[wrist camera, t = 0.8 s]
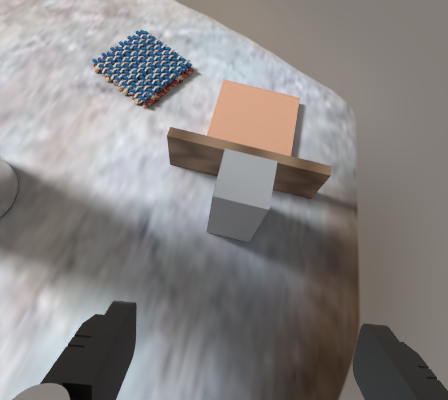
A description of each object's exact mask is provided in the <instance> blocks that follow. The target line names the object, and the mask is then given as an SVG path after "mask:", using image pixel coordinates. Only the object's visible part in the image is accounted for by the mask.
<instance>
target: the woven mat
mask: <svg viewBox="0 0 448 400" xmlns="http://www.w3.org/2000/svg"><path fill="white" fill-rule="evenodd" d="M136 34H138V35H139V36H140V37H139V36H135V35H133V36H132V37H130V36H128V37H127V38H128V39H129V41H128V42H127V41H124V43H123V42H121V41H120V42H119V44H120V45H121V46H122V47H118V46H116V50H115V49H114V48H113V47H111V48H110V49H111V50H112V51H113V52H112V53H110V52H107V55H106V54H105V53H102V56H104V57H103V59H101V58H98V62H99V63H98V62H97V60H96V59H93V60H92V61H93V62H94V63H95V64H94V67H95V68H94V72H96V73H98V72H99V71H100V72H102V73H104V74H103V75H102V76H103V77H106V79H105V80H106V81H108V82H111V81H112V80H113V82H114V85H115V86H117V85H118V86H120V87H119V88H118V89H117V90H118V91H119V92H121V91H122V90H123V89H124V90H123V94H124V95H128V94H129V95H132V96H131V97H130V98H131V99H134V98H136V99H135V100H134V103H135V104H140V103H143V104H144V105H143V106H142V107H143V108H144V109H145V108H147V107H148V106H150V105H151V104H152V103H153V102H154V101H155V102H157V101H159V98H160V97H161V96H162V95H164V94H166V93H167V91H169V90H170V89H171V88H173V87H174V86H175V85H177V84H178V82H179V83H181V82H183V81H182V80H183V79H184V78H185V77H187V76H189V75H190V74H191V73H192V72H193V71H194V69H193V68H191V66H192V64H191V63H188V62H190V60H186V59H184V58H181V57H182V56H180V55H178V52H174V50H171V48H169V47H165V46H167V45H164V44H163V42H161V41H160V40H158V39H157V40H156V38H155V37H154V36H151V34H149V32H147V31H143V30H141V31H140V32H139V31H136ZM132 38H133V39H132ZM158 41H160V42H158ZM107 69H108V70H107ZM187 70H189V71H187ZM183 72H184V74H183ZM172 81H173V82H172ZM171 82H172V83H171ZM168 84H169V85H168ZM167 85H168V86H167ZM158 91H161V92H158ZM146 101H147V102H146Z"/></svg>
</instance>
